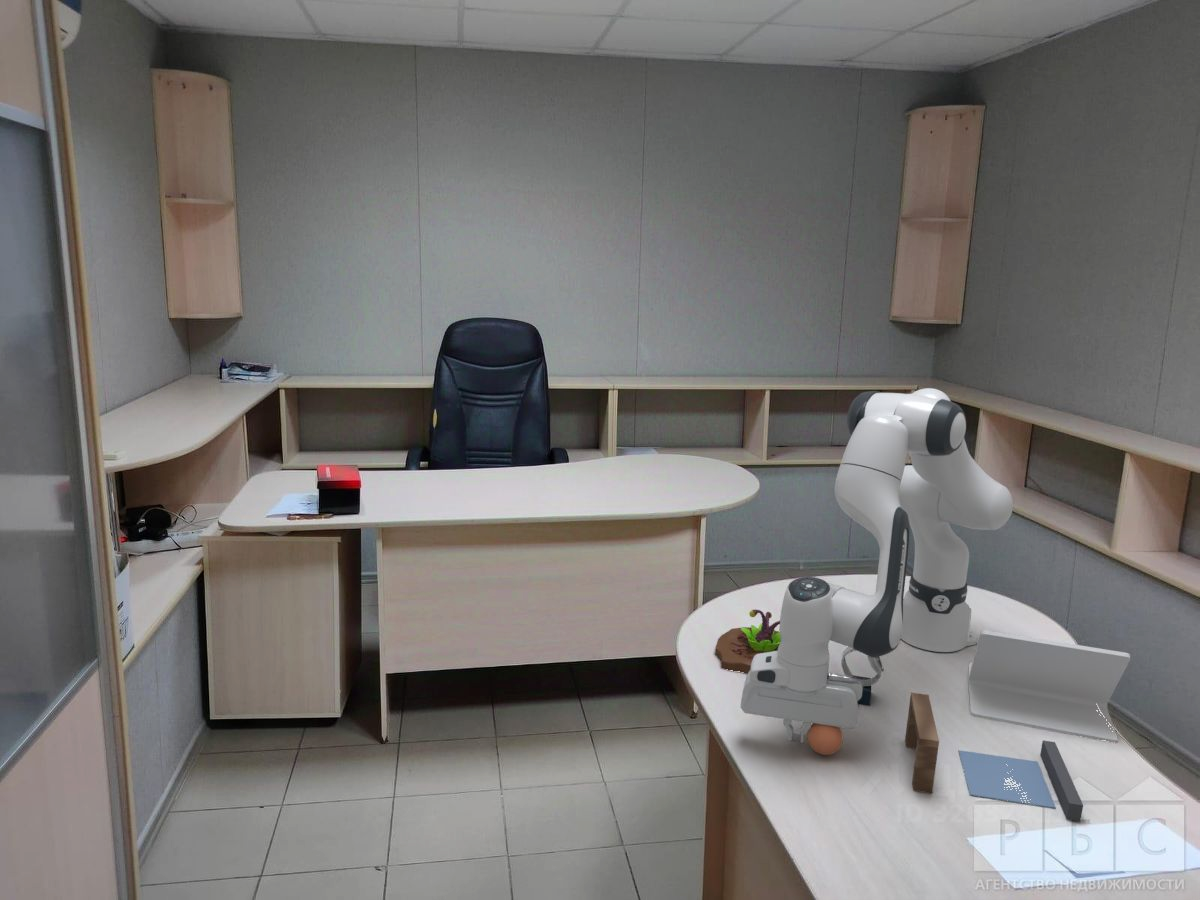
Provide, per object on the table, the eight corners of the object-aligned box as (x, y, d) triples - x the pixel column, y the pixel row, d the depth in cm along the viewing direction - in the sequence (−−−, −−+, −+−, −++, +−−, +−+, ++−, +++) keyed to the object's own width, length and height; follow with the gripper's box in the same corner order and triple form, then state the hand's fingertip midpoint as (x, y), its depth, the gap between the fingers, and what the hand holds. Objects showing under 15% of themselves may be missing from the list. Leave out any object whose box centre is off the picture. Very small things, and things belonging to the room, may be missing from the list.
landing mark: (958, 751, 160) (958, 750, 159) (1037, 762, 157) (1037, 761, 157) (969, 795, 147) (970, 794, 147) (1055, 808, 144) (1055, 807, 144)
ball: (805, 739, 162) (810, 709, 160) (839, 745, 161) (844, 716, 159) (805, 758, 156) (809, 728, 155) (840, 764, 155) (845, 734, 153)
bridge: (913, 790, 148) (919, 738, 146) (904, 740, 162) (910, 692, 160) (932, 793, 148) (939, 741, 145) (922, 742, 162) (928, 694, 159)
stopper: (1040, 755, 159) (1042, 740, 158) (1052, 757, 158) (1054, 742, 158) (1066, 819, 142) (1069, 803, 141) (1080, 821, 141) (1083, 805, 141)
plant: (717, 632, 204) (720, 587, 201) (805, 641, 201) (809, 594, 198) (713, 675, 185) (716, 626, 182) (810, 685, 182) (814, 635, 179)
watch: (880, 707, 173) (886, 656, 170) (837, 700, 175) (842, 649, 172) (880, 693, 178) (885, 643, 176) (838, 687, 180) (843, 637, 178)
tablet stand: (1118, 744, 163) (1134, 660, 159) (970, 717, 171) (982, 635, 167) (1100, 696, 180) (1115, 618, 175) (967, 673, 188) (977, 598, 183)
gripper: (863, 669, 157) (856, 739, 160) (745, 653, 161) (741, 721, 165) (864, 687, 151) (856, 759, 154) (742, 670, 156) (737, 740, 159)
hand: (796, 739), depth 160 cm, fingers closed
